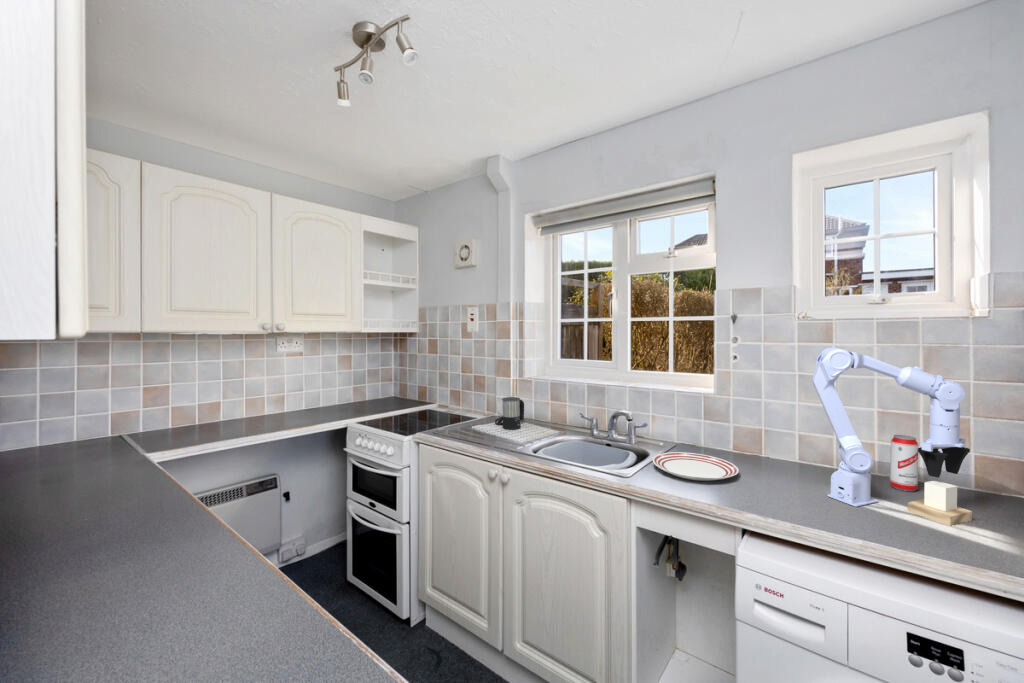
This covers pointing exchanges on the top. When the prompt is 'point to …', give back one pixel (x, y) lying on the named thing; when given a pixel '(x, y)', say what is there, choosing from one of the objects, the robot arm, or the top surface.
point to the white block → (940, 495)
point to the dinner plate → (695, 466)
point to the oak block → (940, 513)
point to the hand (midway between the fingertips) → (943, 474)
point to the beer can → (904, 463)
